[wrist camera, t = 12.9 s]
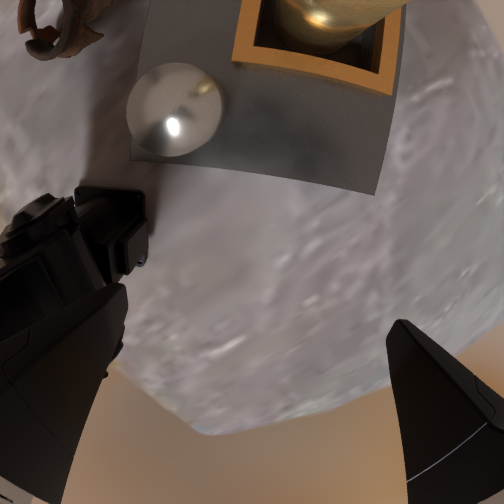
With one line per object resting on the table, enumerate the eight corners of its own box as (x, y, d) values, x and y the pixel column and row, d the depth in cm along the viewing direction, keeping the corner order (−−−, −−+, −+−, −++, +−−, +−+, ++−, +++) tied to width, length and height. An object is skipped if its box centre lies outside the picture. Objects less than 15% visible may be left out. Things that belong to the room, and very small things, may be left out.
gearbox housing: (144, 154, 19) (108, 170, 14) (175, -38, 11) (152, -70, 6) (362, 185, 19) (392, 211, 15) (392, -5, 12) (426, -29, 7)
